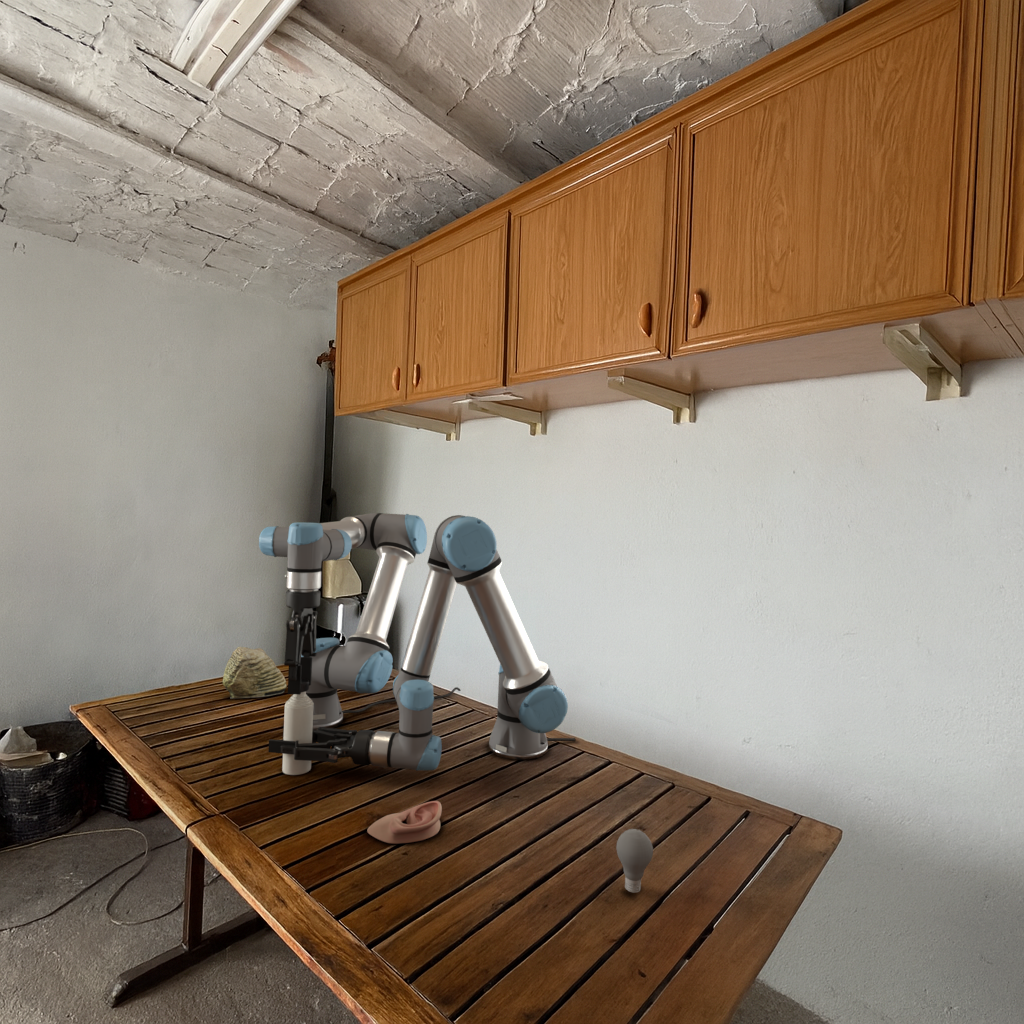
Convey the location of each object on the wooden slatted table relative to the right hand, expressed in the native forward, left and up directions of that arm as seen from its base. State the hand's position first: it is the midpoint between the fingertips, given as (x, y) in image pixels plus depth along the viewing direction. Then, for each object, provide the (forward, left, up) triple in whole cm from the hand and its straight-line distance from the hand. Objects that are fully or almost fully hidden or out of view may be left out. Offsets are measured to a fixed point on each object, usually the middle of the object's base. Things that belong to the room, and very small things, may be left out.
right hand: (276, 739), depth 147 cm
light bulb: (-57, +64, -6) cm, 86 cm away
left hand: (-5, +2, +12) cm, 13 cm away
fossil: (+8, -57, -6) cm, 57 cm away
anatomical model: (-24, +35, -6) cm, 43 cm away
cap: (-5, +2, +14) cm, 15 cm away
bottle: (-5, +2, -6) cm, 8 cm away
